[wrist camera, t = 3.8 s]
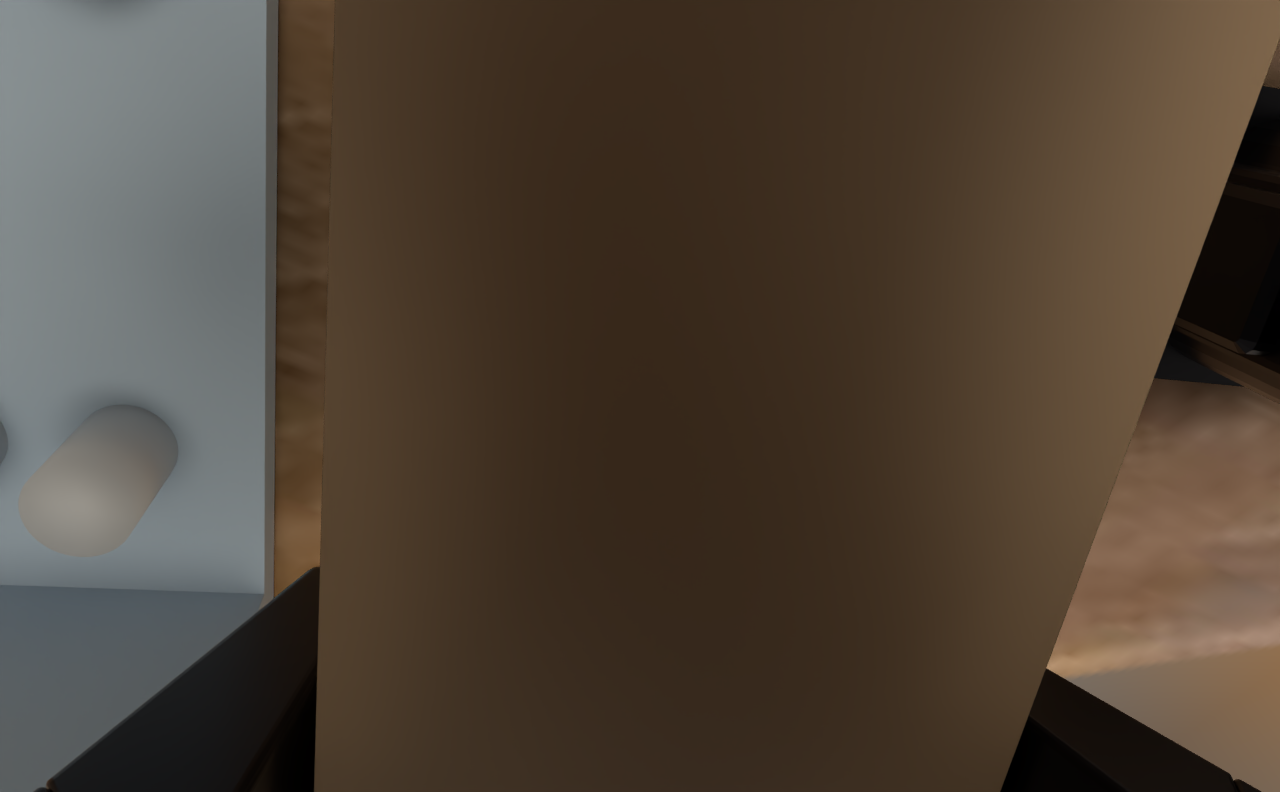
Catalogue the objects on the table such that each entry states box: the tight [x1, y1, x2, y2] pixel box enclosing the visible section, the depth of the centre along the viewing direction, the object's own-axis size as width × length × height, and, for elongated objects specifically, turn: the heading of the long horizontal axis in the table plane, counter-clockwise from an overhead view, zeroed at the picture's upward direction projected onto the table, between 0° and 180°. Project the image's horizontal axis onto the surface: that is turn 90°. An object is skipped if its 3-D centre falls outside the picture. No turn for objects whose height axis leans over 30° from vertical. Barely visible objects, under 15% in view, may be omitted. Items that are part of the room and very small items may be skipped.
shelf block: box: [314, 0, 1280, 792], centre depth 9 cm, size 5×12×4 cm, turn 171°
